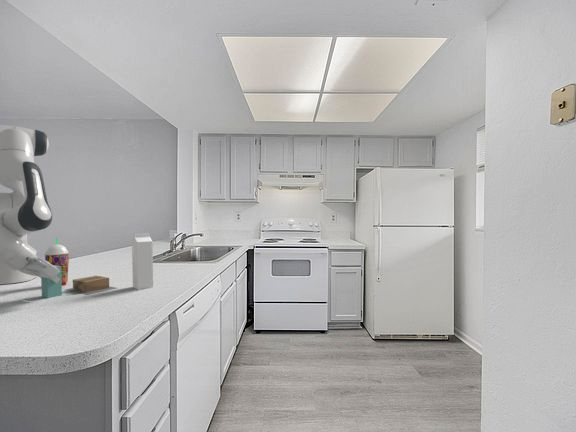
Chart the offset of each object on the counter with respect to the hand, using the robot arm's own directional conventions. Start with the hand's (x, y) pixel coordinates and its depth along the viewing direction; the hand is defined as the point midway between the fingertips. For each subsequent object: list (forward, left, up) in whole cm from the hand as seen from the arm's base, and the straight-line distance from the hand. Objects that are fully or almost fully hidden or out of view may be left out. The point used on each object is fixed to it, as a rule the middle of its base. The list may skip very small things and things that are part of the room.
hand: (53, 280), depth 121 cm
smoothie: (-17, +9, -6) cm, 20 cm away
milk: (+17, +24, -6) cm, 30 cm away
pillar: (0, -1, -6) cm, 6 cm away
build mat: (+2, +12, -6) cm, 14 cm away
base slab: (+2, +12, -5) cm, 14 cm away
